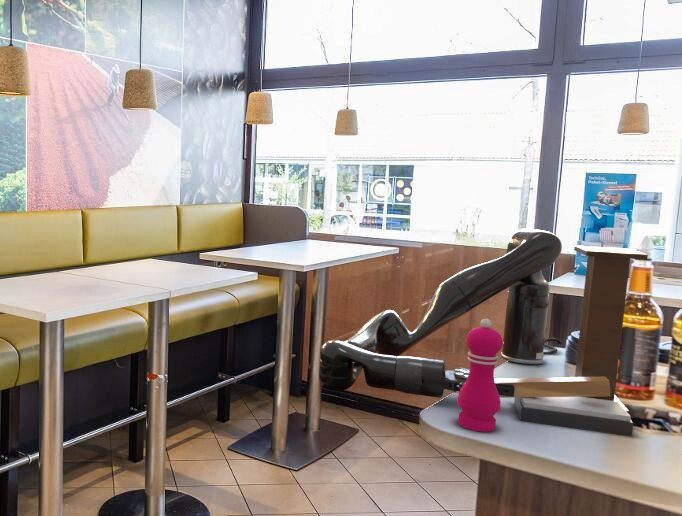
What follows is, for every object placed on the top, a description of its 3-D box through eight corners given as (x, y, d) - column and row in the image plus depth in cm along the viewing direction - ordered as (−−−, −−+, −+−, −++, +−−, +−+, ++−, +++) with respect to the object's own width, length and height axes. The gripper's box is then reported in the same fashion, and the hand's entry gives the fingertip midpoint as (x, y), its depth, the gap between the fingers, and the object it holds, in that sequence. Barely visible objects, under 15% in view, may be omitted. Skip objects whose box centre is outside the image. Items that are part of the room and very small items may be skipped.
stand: (558, 393, 149) (574, 245, 146) (613, 400, 146) (630, 248, 142) (569, 410, 138) (586, 250, 135) (628, 418, 135) (647, 254, 131)
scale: (514, 404, 141) (515, 387, 140) (617, 418, 135) (619, 401, 134) (520, 420, 132) (522, 402, 131) (632, 436, 125) (634, 417, 125)
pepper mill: (461, 415, 133) (471, 313, 131) (502, 425, 128) (513, 319, 126) (450, 425, 127) (459, 318, 125) (492, 436, 123) (503, 325, 121)
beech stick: (479, 393, 140) (478, 378, 140) (606, 391, 132) (605, 376, 132) (480, 397, 137) (479, 382, 137) (610, 396, 129) (609, 380, 129)
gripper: (417, 384, 149) (507, 396, 143) (417, 404, 136) (515, 418, 130) (420, 350, 148) (510, 361, 142) (420, 366, 135) (519, 379, 129)
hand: (512, 388), depth 136 cm, fingers closed on beech stick, 3 cm apart
